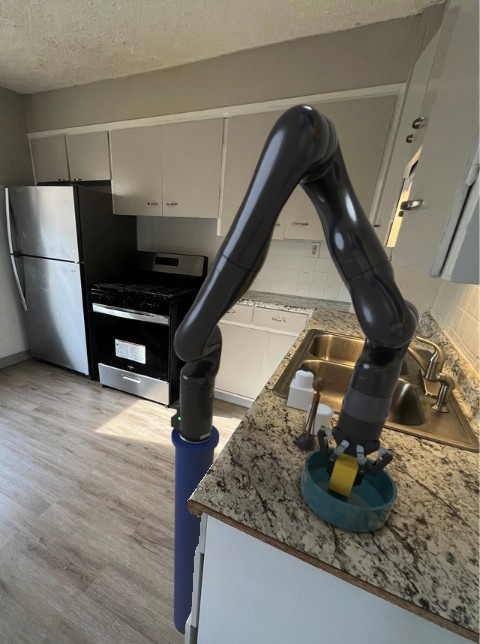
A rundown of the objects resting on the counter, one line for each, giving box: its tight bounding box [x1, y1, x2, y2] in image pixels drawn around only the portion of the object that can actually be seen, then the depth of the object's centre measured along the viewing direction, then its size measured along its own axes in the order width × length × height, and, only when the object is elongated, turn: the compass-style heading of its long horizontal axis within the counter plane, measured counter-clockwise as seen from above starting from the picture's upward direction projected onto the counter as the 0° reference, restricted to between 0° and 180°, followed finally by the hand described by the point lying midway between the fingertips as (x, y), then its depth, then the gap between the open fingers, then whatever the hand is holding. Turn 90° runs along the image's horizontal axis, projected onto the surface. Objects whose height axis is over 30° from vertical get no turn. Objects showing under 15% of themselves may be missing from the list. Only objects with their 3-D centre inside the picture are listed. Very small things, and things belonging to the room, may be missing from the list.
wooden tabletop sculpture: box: [295, 375, 334, 452], centre depth 78 cm, size 6×5×20 cm
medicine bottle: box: [286, 367, 317, 412], centre depth 98 cm, size 7×7×12 cm
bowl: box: [299, 446, 398, 533], centre depth 66 cm, size 17×17×6 cm
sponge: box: [328, 453, 358, 497], centre depth 64 cm, size 4×4×7 cm
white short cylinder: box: [305, 402, 335, 436], centre depth 87 cm, size 7×7×7 cm
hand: (342, 478), depth 65 cm, fingers closed on sponge, 4 cm apart
